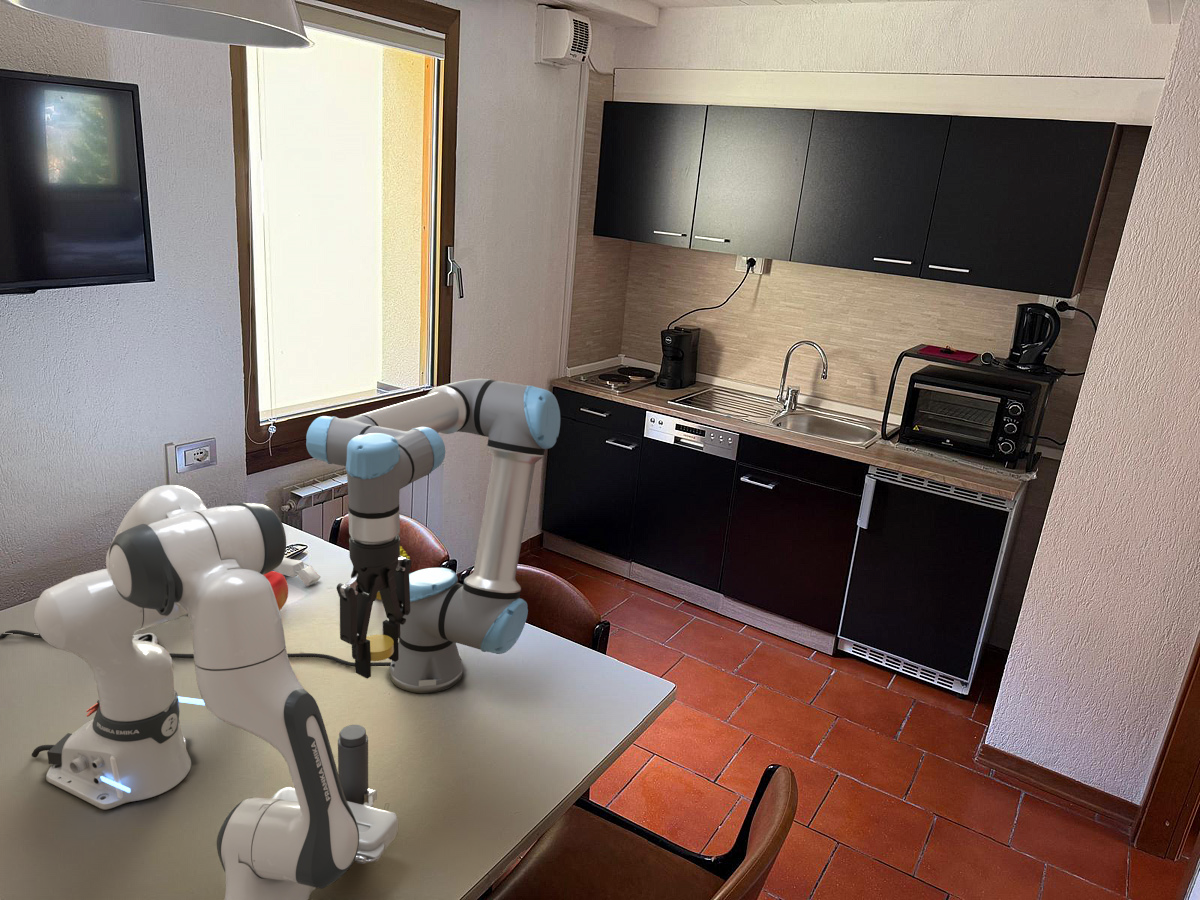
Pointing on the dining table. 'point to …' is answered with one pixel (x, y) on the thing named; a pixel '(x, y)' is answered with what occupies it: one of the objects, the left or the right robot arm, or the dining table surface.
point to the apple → (278, 587)
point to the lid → (380, 647)
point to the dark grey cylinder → (353, 762)
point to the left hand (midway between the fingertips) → (356, 788)
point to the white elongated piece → (298, 571)
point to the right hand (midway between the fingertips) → (377, 665)
